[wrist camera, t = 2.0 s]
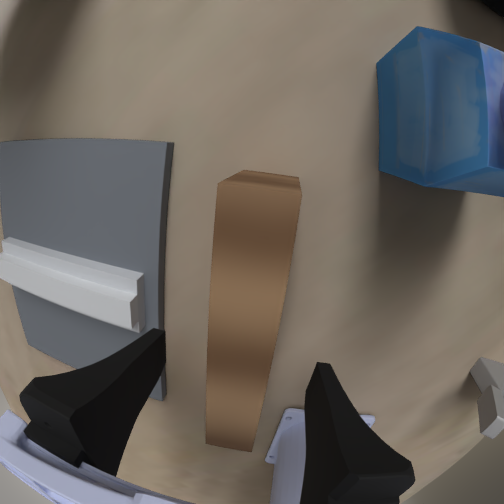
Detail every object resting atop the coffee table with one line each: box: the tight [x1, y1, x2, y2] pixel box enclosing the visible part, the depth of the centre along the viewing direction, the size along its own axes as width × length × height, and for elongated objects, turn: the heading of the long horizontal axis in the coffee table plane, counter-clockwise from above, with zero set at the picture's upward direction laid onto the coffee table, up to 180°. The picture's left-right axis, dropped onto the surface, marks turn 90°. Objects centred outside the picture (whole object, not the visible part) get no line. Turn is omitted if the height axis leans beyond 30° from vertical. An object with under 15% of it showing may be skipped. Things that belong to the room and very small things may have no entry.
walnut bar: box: [206, 170, 302, 452], centre depth 16 cm, size 16×3×6 cm, turn 173°
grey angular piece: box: [470, 357, 504, 439], centre depth 15 cm, size 7×2×8 cm, turn 71°
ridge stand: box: [0, 138, 174, 401], centre depth 19 cm, size 20×16×3 cm
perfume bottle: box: [376, 26, 504, 197], centre depth 8 cm, size 6×6×12 cm
